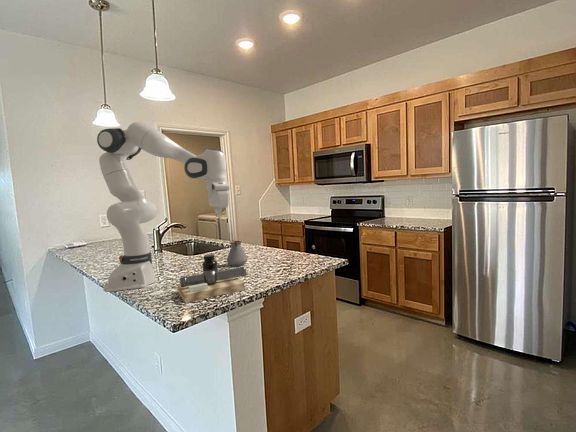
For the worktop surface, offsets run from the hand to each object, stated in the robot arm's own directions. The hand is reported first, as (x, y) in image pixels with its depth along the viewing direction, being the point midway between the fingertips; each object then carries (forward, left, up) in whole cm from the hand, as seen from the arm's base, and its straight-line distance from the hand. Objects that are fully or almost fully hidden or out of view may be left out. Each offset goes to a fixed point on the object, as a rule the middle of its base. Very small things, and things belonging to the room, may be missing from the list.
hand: (218, 217), depth 145 cm
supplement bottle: (-4, +5, -30) cm, 31 cm away
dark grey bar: (-6, -10, -26) cm, 29 cm away
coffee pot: (+15, +23, -30) cm, 41 cm away
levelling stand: (-8, -10, -30) cm, 32 cm away
